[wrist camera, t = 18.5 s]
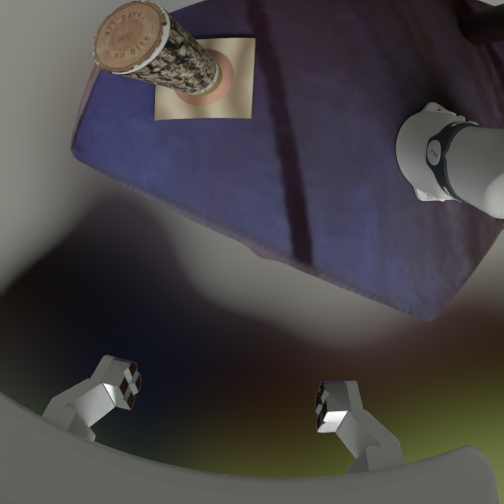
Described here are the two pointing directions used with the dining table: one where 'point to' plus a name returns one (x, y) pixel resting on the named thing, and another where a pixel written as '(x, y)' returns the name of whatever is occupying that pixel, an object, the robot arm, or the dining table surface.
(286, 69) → the dining table surface
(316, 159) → the dining table surface
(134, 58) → the bark print tube
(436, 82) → the dining table surface
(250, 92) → the holder board
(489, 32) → the bottle
